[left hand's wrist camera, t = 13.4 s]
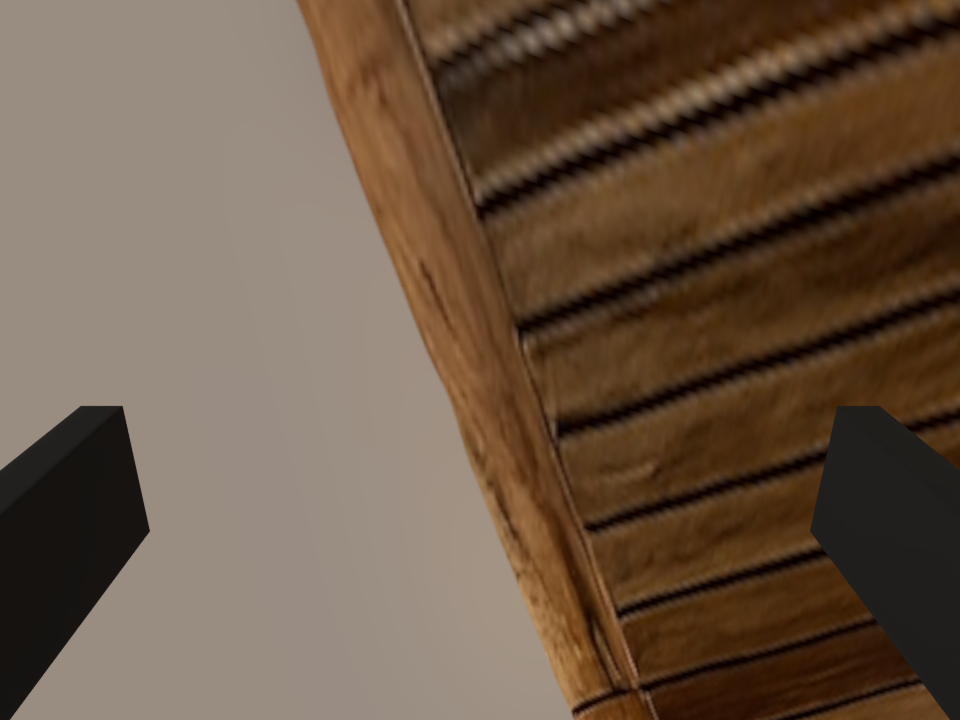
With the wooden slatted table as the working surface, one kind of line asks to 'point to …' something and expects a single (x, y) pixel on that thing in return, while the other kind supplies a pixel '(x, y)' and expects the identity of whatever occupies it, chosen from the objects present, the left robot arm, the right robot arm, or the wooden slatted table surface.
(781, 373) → the wooden slatted table surface
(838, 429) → the left robot arm
